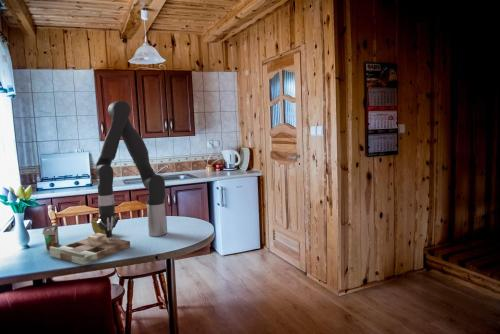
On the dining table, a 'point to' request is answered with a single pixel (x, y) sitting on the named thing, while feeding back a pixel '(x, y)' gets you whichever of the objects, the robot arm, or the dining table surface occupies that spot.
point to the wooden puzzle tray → (88, 250)
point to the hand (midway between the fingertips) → (108, 237)
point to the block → (97, 239)
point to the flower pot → (96, 228)
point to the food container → (51, 236)
